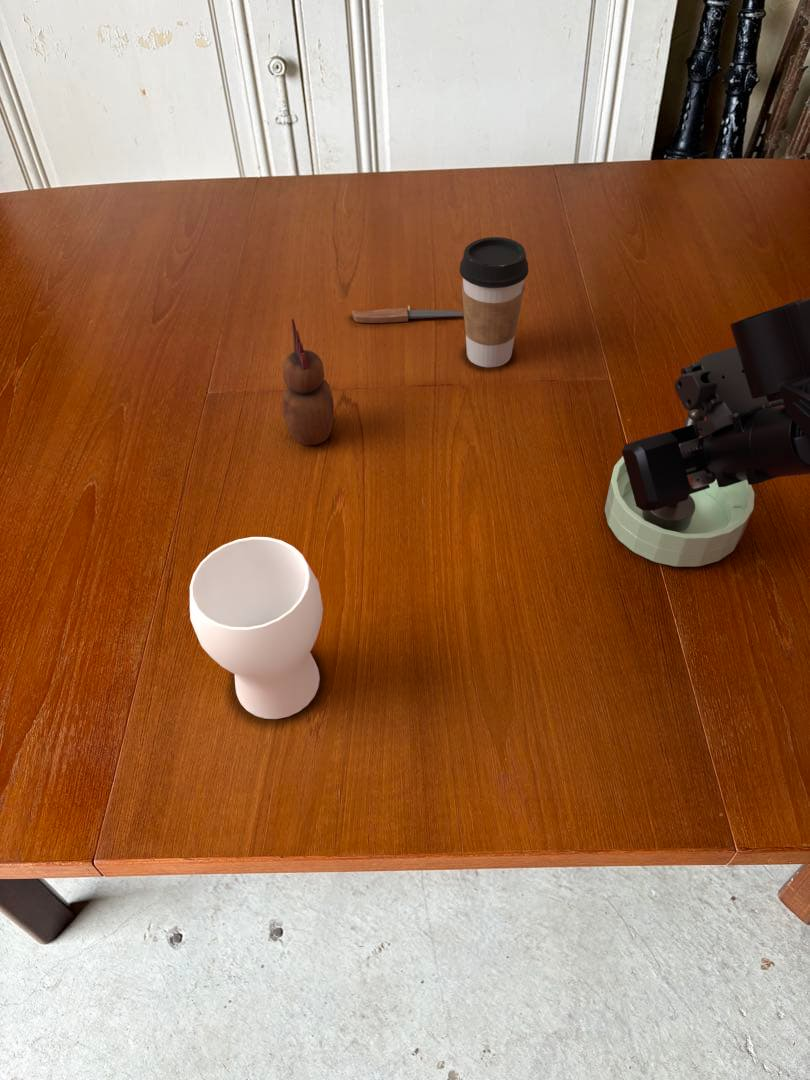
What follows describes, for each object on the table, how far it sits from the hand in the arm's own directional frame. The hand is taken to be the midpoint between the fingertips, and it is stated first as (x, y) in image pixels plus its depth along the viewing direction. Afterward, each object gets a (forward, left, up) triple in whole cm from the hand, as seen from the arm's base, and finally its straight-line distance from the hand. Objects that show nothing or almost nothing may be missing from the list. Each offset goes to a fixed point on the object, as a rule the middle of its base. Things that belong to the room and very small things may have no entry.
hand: (673, 458), depth 81 cm
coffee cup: (+34, +6, -9) cm, 36 cm away
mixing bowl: (-1, -2, -9) cm, 9 cm away
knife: (+46, +13, -9) cm, 48 cm away
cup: (-7, +43, -9) cm, 44 cm away
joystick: (-1, 0, -7) cm, 7 cm away
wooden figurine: (+26, +32, -9) cm, 42 cm away
